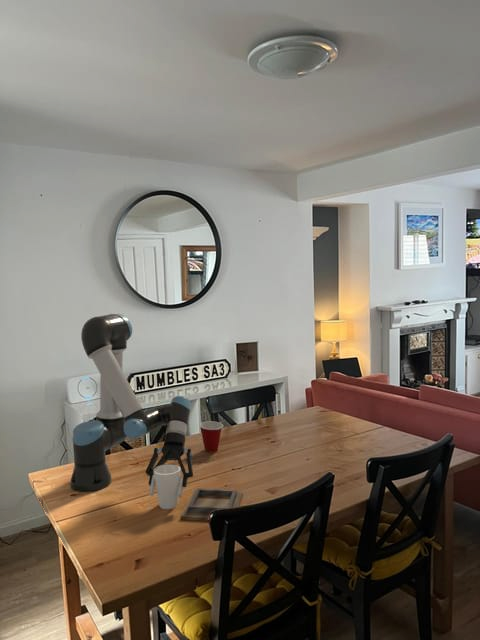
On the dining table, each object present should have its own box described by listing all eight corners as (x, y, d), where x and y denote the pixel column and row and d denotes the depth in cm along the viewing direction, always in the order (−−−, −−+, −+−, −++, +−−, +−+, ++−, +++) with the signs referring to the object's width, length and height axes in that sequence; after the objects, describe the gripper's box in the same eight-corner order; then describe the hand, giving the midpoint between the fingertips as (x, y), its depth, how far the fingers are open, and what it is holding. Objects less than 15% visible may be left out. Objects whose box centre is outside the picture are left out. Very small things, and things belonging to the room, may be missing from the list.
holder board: (180, 519, 174) (180, 510, 173) (194, 493, 193) (194, 484, 193) (234, 522, 171) (234, 512, 171) (242, 495, 191) (242, 486, 191)
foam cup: (184, 499, 189) (183, 464, 187) (179, 511, 180) (177, 474, 178) (158, 498, 190) (157, 463, 188) (151, 510, 180) (150, 474, 179)
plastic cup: (220, 454, 232) (220, 428, 230) (197, 453, 234) (196, 427, 233) (226, 446, 242) (225, 421, 241) (203, 445, 244) (202, 420, 243)
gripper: (206, 441, 196) (198, 500, 182) (149, 439, 199) (137, 498, 185) (203, 431, 190) (195, 492, 177) (144, 430, 193) (131, 490, 180)
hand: (165, 495), depth 181 cm, fingers closed on foam cup, 9 cm apart
